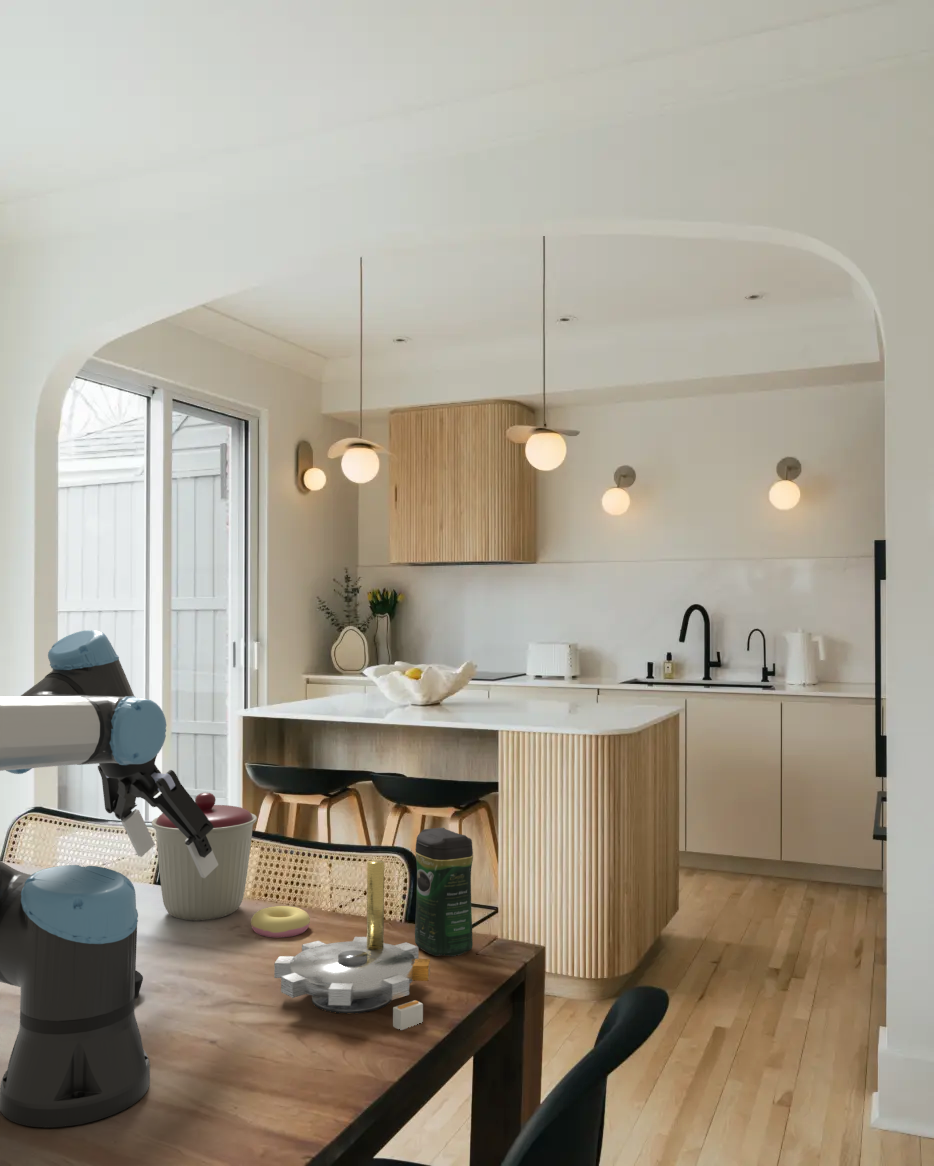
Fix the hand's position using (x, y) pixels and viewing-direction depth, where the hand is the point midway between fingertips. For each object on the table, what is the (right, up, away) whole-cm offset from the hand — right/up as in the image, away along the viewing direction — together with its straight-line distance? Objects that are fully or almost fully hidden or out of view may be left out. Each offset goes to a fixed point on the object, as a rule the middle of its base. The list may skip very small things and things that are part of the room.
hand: (177, 860), depth 140 cm
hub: (+25, -17, -5) cm, 31 cm away
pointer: (+34, -17, -14) cm, 40 cm away
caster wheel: (-10, -18, -5) cm, 21 cm away
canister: (-6, -19, +35) cm, 40 cm away
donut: (+10, -19, +25) cm, 33 cm away
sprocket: (+25, -14, -5) cm, 30 cm away
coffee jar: (+37, -19, +16) cm, 45 cm away
